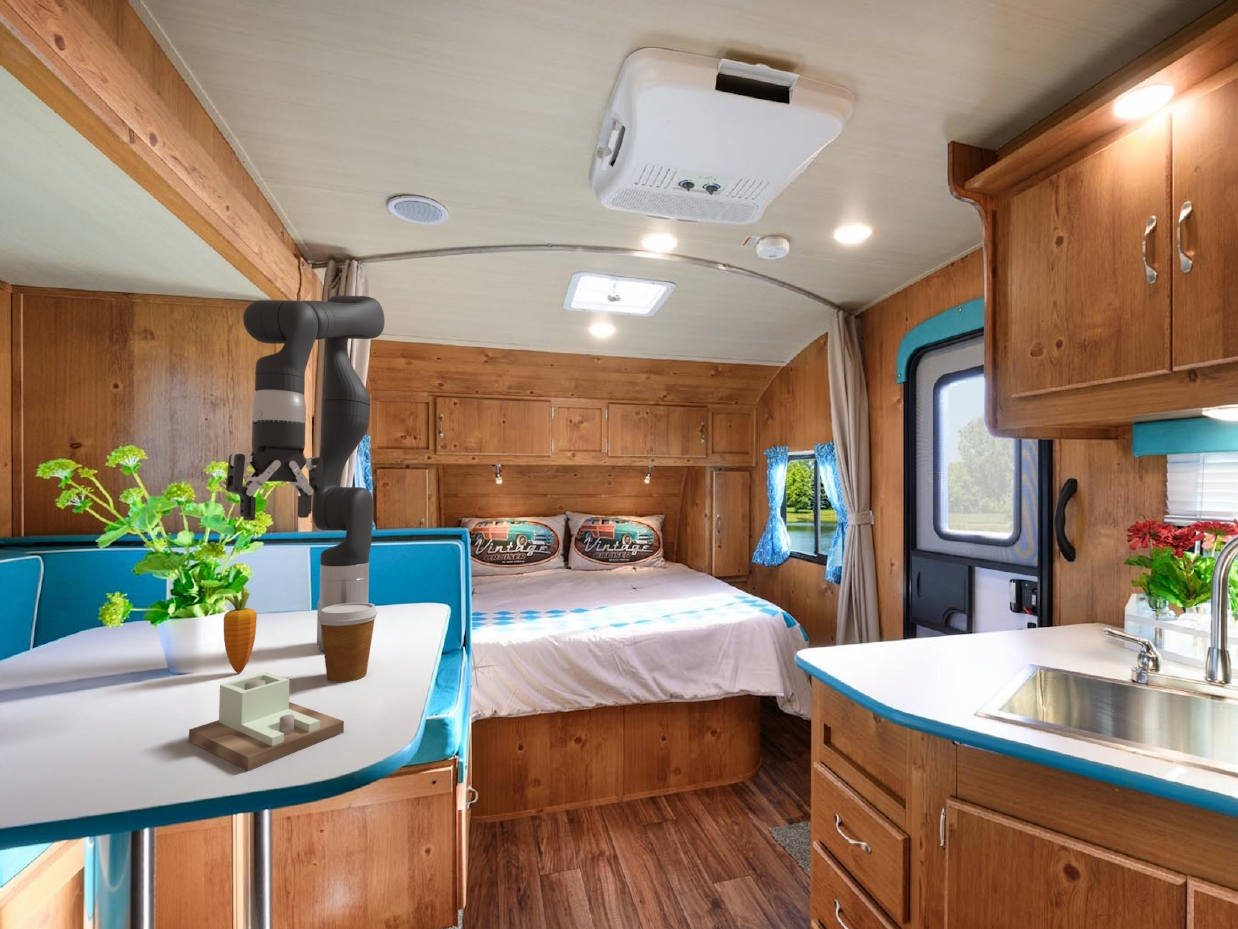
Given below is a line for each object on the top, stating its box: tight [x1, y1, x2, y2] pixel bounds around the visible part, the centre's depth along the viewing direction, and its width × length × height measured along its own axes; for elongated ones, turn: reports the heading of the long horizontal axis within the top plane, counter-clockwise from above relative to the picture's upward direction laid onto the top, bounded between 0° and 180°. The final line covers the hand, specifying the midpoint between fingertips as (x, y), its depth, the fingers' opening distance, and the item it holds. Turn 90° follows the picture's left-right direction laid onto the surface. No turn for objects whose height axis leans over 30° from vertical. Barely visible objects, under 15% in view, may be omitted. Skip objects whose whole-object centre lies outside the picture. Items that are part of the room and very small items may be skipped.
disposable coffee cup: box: [318, 602, 378, 683], centre depth 99 cm, size 10×10×12 cm
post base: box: [188, 680, 345, 772], centre depth 75 cm, size 15×12×6 cm
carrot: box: [223, 587, 257, 675], centre depth 100 cm, size 5×5×15 cm
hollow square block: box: [218, 672, 320, 746], centre depth 75 cm, size 14×6×5 cm, turn 59°
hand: (277, 518), depth 92 cm, fingers open, 8 cm apart
